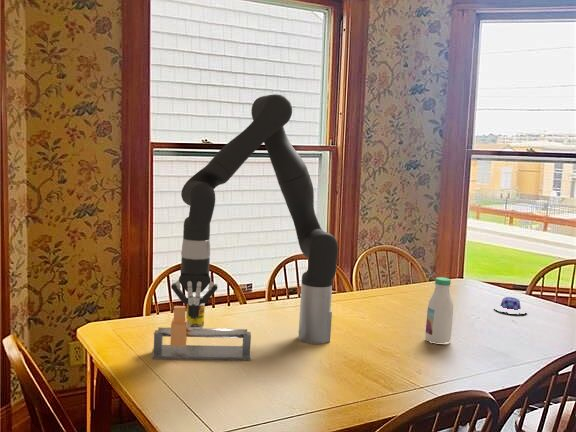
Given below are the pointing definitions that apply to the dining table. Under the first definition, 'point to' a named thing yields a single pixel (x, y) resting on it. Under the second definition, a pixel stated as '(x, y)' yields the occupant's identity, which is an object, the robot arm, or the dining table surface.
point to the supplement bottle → (199, 320)
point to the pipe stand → (203, 351)
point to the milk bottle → (440, 313)
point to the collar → (179, 327)
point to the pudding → (510, 303)
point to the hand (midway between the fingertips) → (193, 317)
